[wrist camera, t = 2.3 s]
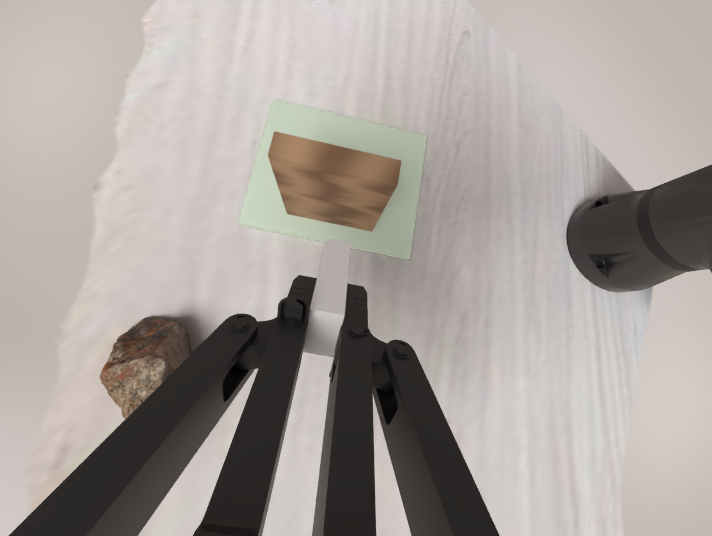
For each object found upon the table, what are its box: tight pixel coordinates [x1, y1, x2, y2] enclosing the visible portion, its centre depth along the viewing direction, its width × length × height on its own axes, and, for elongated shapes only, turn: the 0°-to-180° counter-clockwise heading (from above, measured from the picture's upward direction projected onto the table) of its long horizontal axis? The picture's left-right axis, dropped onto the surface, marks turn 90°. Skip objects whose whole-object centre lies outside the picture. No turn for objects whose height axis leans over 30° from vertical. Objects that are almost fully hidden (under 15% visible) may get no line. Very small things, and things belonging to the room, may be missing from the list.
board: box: [268, 131, 401, 232], centre depth 33 cm, size 12×2×14 cm, turn 80°
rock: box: [100, 317, 191, 419], centre depth 30 cm, size 14×9×10 cm
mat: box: [238, 99, 427, 260], centre depth 41 cm, size 24×20×1 cm
